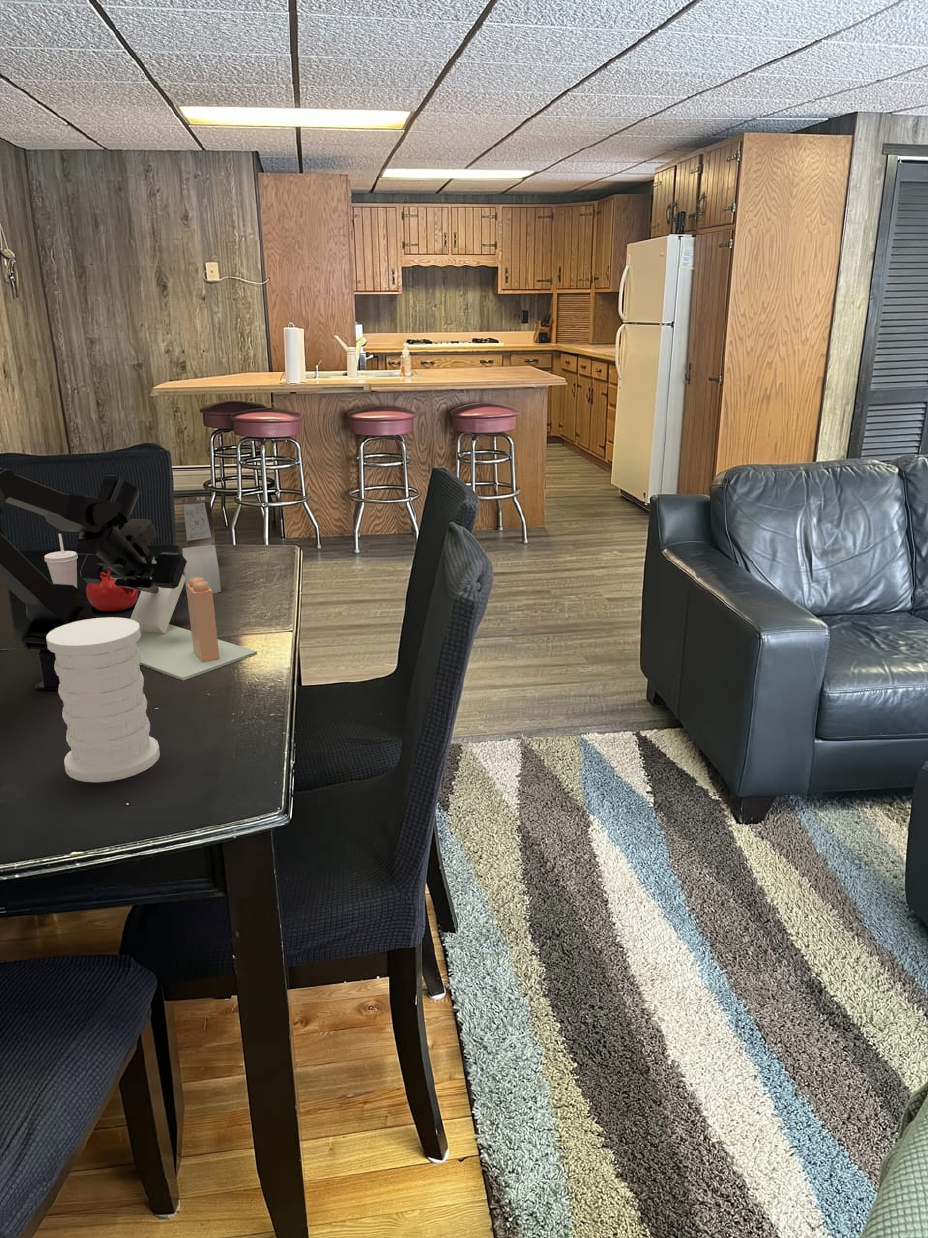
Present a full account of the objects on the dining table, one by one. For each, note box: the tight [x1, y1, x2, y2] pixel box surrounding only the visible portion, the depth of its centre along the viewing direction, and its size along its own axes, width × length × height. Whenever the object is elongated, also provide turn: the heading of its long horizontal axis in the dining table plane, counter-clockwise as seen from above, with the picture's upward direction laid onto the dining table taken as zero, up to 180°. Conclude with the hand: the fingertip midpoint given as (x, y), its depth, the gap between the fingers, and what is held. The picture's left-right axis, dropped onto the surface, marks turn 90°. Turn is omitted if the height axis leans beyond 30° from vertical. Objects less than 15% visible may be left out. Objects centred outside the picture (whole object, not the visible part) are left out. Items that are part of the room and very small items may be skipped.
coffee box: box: [181, 495, 216, 548], centre depth 210 cm, size 9×6×16 cm
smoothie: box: [43, 533, 79, 589], centre depth 185 cm, size 6×6×14 cm
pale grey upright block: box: [181, 544, 222, 594], centre depth 189 cm, size 4×7×10 cm, turn 113°
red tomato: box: [85, 570, 139, 613], centre depth 179 cm, size 10×10×9 cm
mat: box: [136, 623, 258, 681], centre depth 156 cm, size 15×29×1 cm, turn 52°
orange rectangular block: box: [185, 577, 220, 662], centre depth 150 cm, size 3×6×13 cm, turn 28°
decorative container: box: [46, 616, 161, 783], centre depth 113 cm, size 12×12×18 cm
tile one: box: [129, 573, 186, 633], centre depth 165 cm, size 3×6×13 cm
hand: (156, 591), depth 164 cm, fingers closed, pressing on tile one
